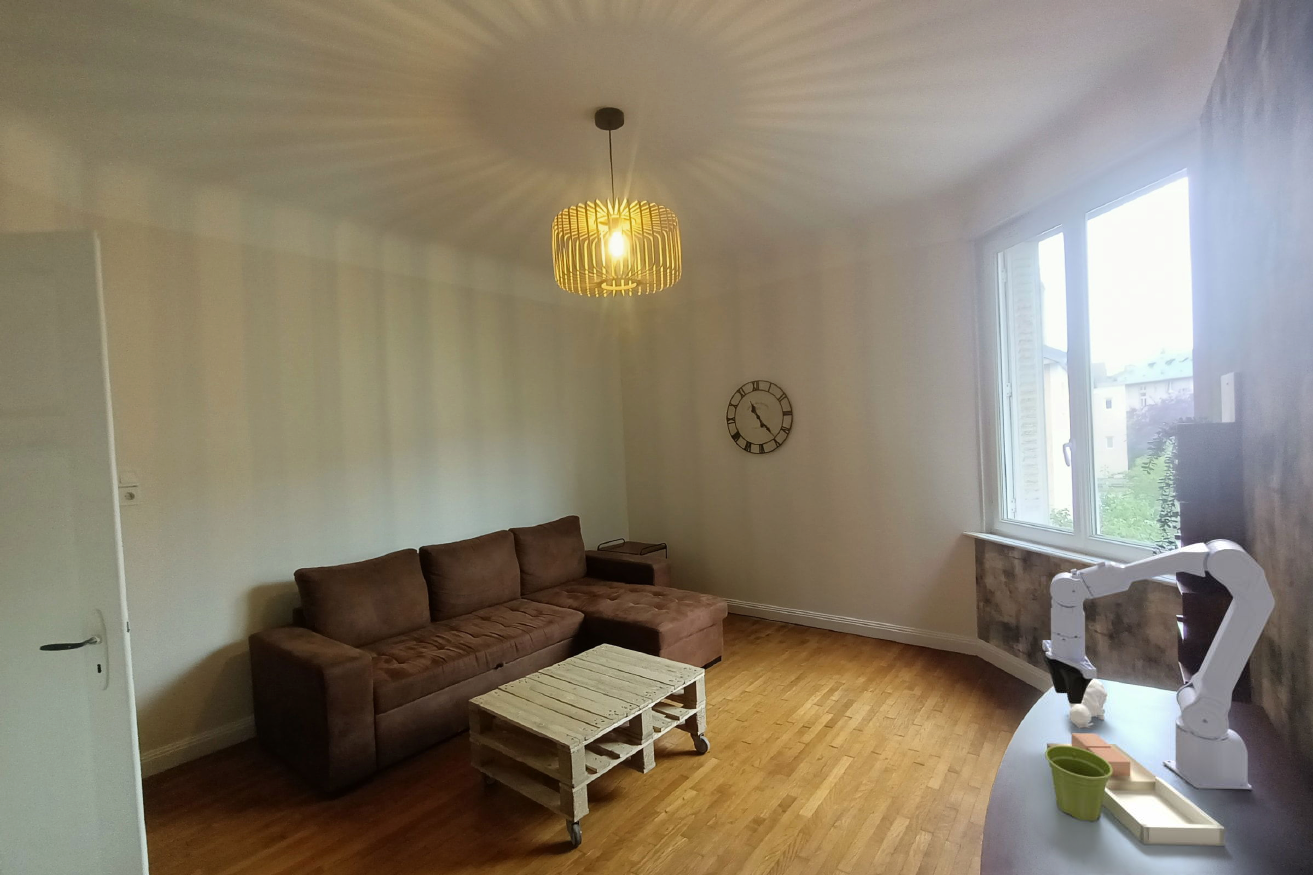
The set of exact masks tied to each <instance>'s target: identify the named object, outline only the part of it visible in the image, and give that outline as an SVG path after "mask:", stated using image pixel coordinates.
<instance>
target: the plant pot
mask: <svg viewBox="0 0 1313 875" xmlns="http://www.w3.org/2000/svg"><path fill="white" fill-rule="evenodd" d="M1044 756H1045V758H1046V760H1047V761H1048V765H1049V767H1050V771H1051V775H1052V776H1051V777H1052V781H1053V782H1052V783H1053V787H1054V794H1055V799H1056V800H1055V801H1056V805H1057V808H1059V809H1060V810H1061V811H1062V812H1063V813H1067V814H1069V815H1071V816H1072V817H1073V818H1075V819H1078V820H1080V821H1081V820H1082V821H1087V822H1088V821H1090V822H1091V821H1096V820H1097V819H1098V818H1099V817H1100V816H1101V814H1102V813H1101V812H1102V806H1103V804H1102V802H1103V796H1104V791H1105V786H1106V783H1107V782H1108V779H1109V777H1110V776H1111V775H1112V773H1113V769H1112V767H1111V765H1110V764H1109V763H1108V762H1107V761H1106V760H1105V759H1103V758H1102V757H1100V756H1098V755H1096V754H1094V753H1092V752H1090V751H1087V750H1084V749H1081V748H1077V747H1072V746H1052V747H1050V748H1048V749H1047V748H1046V750H1045V753H1044Z"/></svg>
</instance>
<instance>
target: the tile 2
mask: <svg viewBox="0 0 1313 875" xmlns="http://www.w3.org/2000/svg"><path fill="white" fill-rule="evenodd" d="M1088 751H1090V752H1092V753H1094V754H1096V755H1098V756H1100V757H1102V758H1103V759H1105V760H1106V761H1107V762H1108V763H1109V764H1110V765H1111V767H1112V769H1113V773H1112V775H1130V761H1129V760H1127V759H1126V758H1125V757H1124V756H1122V755H1121V754H1120V753H1119V752H1117V751H1116V750H1115V749H1114V748H1088Z"/></svg>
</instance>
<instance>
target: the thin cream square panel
mask: <svg viewBox="0 0 1313 875" xmlns="http://www.w3.org/2000/svg"><path fill="white" fill-rule="evenodd" d="M1108 744H1109V745H1110V746H1111V748H1114V749H1115V750H1116V751H1117V752H1119V753H1120V754H1121V755H1122V756H1124V757H1125V758H1126V759H1127V760H1129V761H1130V775H1111V776H1110V777H1109V779H1108V782H1107V783H1106V786H1105V787H1106V788H1107V789H1108V790H1133V791H1155V777H1157V776H1156V775H1155V774H1154V773H1152V772H1151V771H1150V770H1149V769H1147V768H1146V767H1145V766H1144V765H1142V764H1141V763H1140V762H1138V761H1137V760H1136V759H1134V757H1132V756H1131V755H1130V754H1129V753H1127V752H1126V751H1124V749H1122V748H1121V747H1120V746H1118V745H1117V744H1115V743H1108ZM1052 746H1072V744H1071V743H1059V742H1058V743H1053V742H1051V743H1049V742H1048V743H1046V750H1047V749H1048V748H1050V747H1052Z"/></svg>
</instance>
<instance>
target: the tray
mask: <svg viewBox="0 0 1313 875" xmlns="http://www.w3.org/2000/svg"><path fill="white" fill-rule="evenodd" d="M1102 806H1104V808H1106V809H1107V810H1108V812H1110V813H1111V814H1112V815H1113V816H1114V817H1115V818H1116V819H1117V820H1118V821H1119V822H1121V823H1122V825H1123V826H1124V827H1125V828H1126V829H1127V830H1128V831H1130V832H1131V833H1132V834H1133V835H1134V836H1135V837H1136V838H1137V839H1138V840H1139V841H1140V842H1141V843H1142V844H1143V845H1167V846H1168V845H1169V846H1170V845H1171V846H1172V845H1173V846H1215V847H1216V846H1217V847H1219V846H1220V847H1223V846H1224V847H1225V845H1226V829H1225V827H1224V826H1223V825H1221V824H1220V823H1218V822H1217V821H1216V820H1215V819H1214V818H1212V817H1211V816H1210V815H1208V814H1207V813H1206V812H1205V811H1204V810H1202V809H1201V808H1200V807H1198V806H1197V805H1196V804H1195V803H1193V802H1192V801H1191V800H1190V799H1188V798H1187V797H1186V796H1184V795H1183V794H1182V793H1180V791H1178V790H1177V789H1176V788H1174V787H1173V786H1172V785H1170V783H1168V782H1166V781H1165V780H1164V779H1162V778H1161V777H1159V776H1156V777H1155V791H1133V790H1108V789H1107V788H1106V787H1105V791H1104V796H1103V802H1102Z"/></svg>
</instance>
